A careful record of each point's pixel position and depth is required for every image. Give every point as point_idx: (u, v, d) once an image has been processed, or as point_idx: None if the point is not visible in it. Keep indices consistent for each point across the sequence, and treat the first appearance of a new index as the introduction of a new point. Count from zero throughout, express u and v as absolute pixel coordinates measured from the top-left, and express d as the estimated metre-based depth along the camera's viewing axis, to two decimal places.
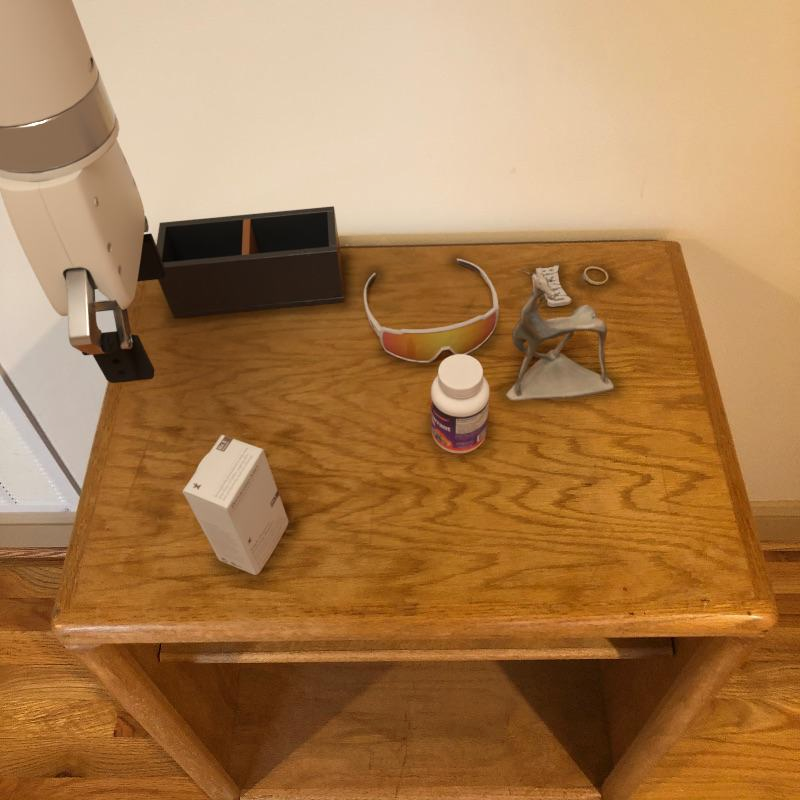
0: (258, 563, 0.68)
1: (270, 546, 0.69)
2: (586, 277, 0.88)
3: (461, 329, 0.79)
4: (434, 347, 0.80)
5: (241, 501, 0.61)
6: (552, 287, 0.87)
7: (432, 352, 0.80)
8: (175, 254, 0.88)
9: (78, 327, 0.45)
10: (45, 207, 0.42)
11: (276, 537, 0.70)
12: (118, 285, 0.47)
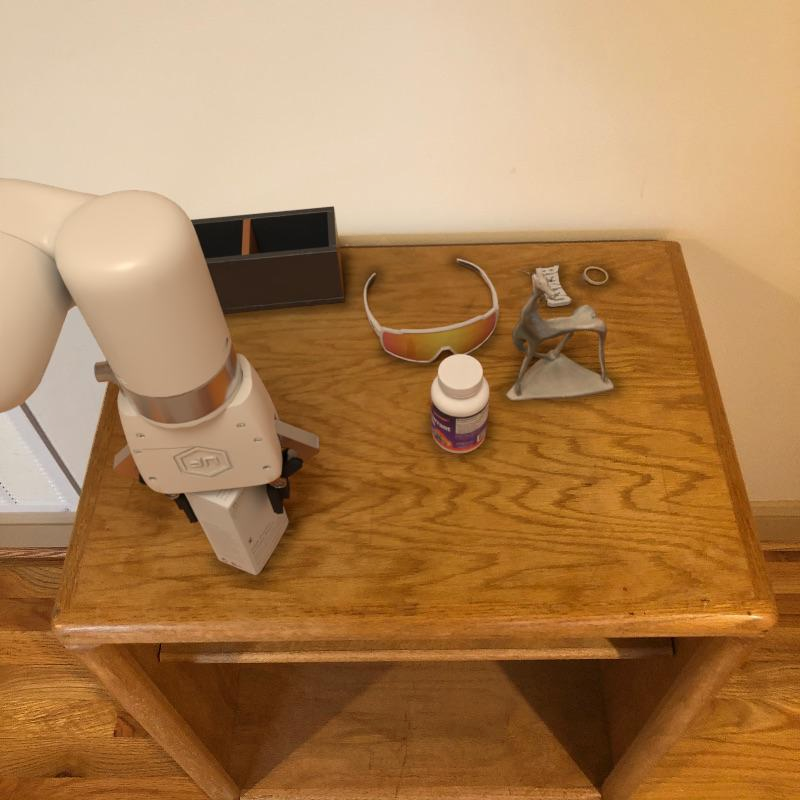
0: (258, 563, 0.68)
1: (271, 546, 0.69)
2: (586, 277, 0.88)
3: (461, 329, 0.79)
4: (434, 347, 0.80)
5: (242, 501, 0.61)
6: (552, 287, 0.87)
7: (432, 352, 0.80)
8: None
9: (311, 439, 0.59)
10: (257, 385, 0.53)
11: (277, 537, 0.70)
12: None
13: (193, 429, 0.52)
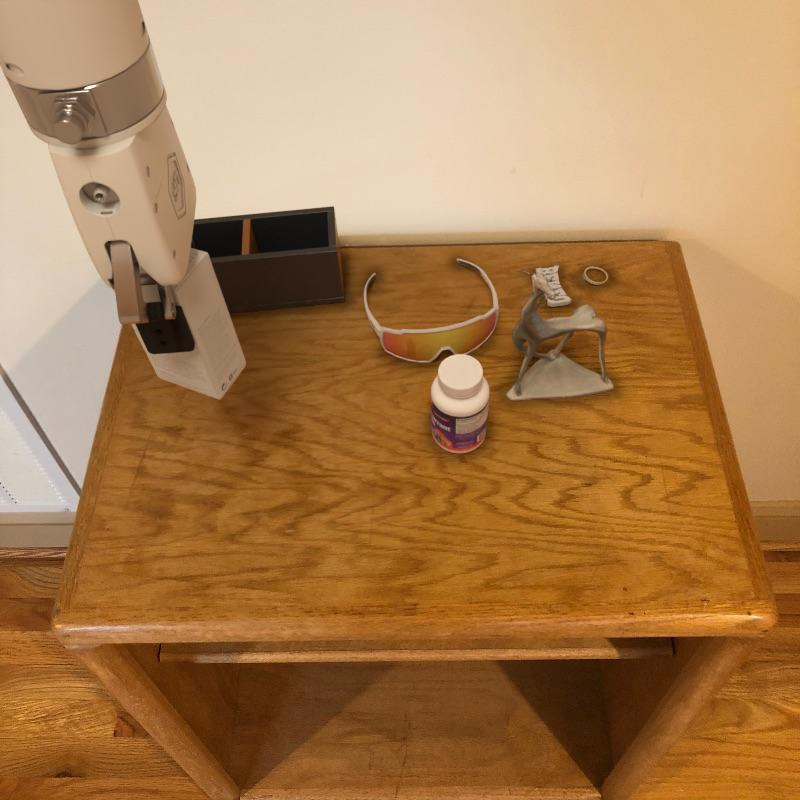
0: None
1: None
2: (586, 277, 0.88)
3: (461, 329, 0.79)
4: (434, 347, 0.80)
5: None
6: (552, 287, 0.87)
7: (432, 352, 0.80)
8: None
9: None
10: None
11: None
12: None
13: (157, 124, 0.44)
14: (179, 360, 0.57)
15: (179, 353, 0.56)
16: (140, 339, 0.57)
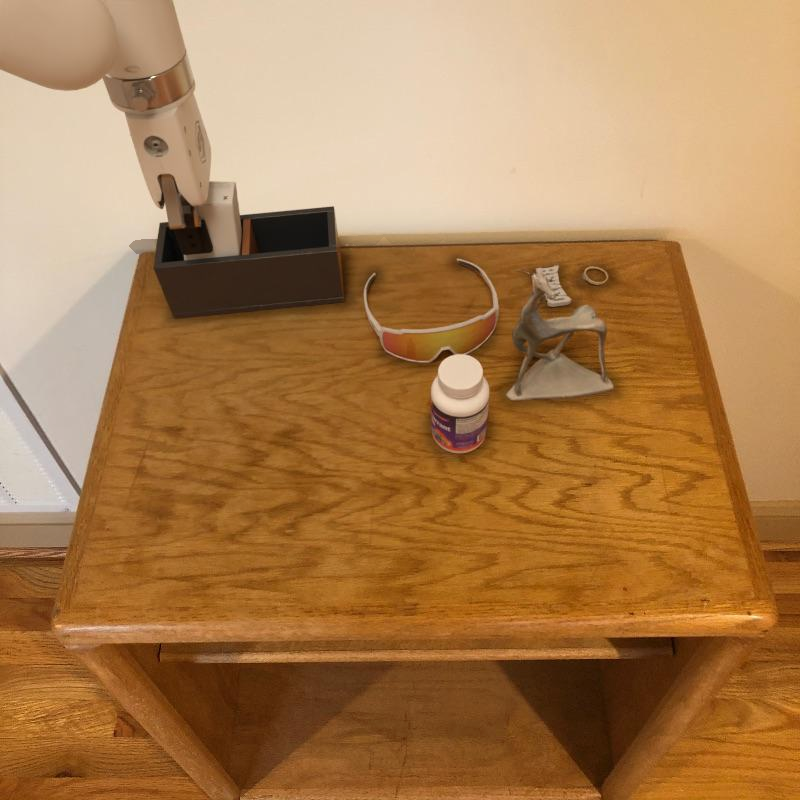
0: None
1: None
2: (586, 277, 0.88)
3: (461, 329, 0.79)
4: (434, 347, 0.80)
5: None
6: (552, 287, 0.87)
7: (432, 352, 0.80)
8: (175, 254, 0.88)
9: None
10: None
11: None
12: None
13: (189, 101, 0.71)
14: None
15: None
16: (187, 259, 0.82)
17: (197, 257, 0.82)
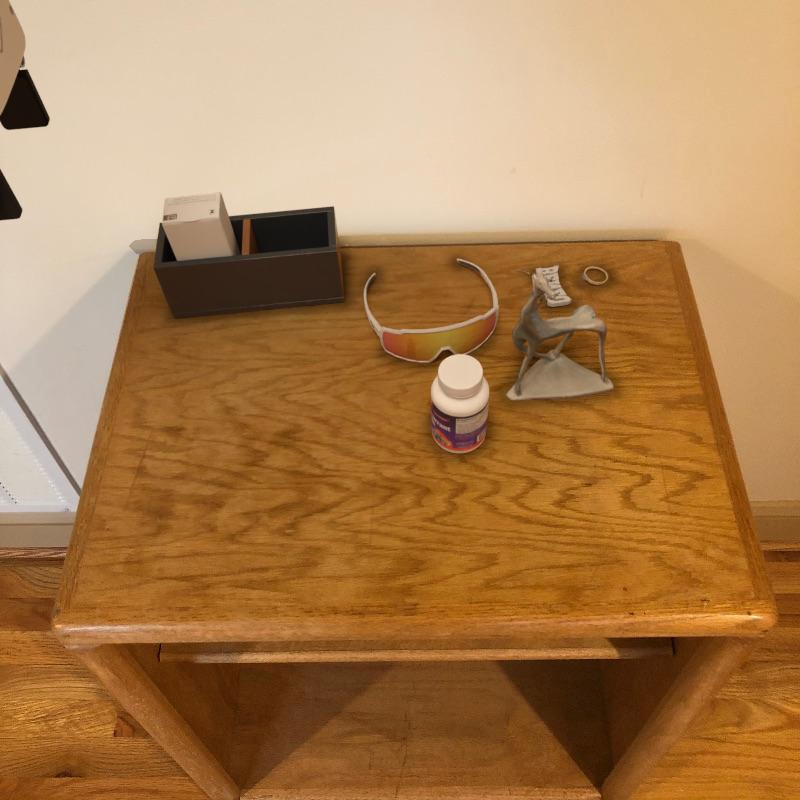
0: None
1: None
2: (586, 277, 0.88)
3: (461, 329, 0.79)
4: (434, 347, 0.80)
5: None
6: (552, 287, 0.87)
7: (432, 352, 0.80)
8: None
9: None
10: None
11: None
12: None
13: None
14: None
15: None
16: None
17: None
